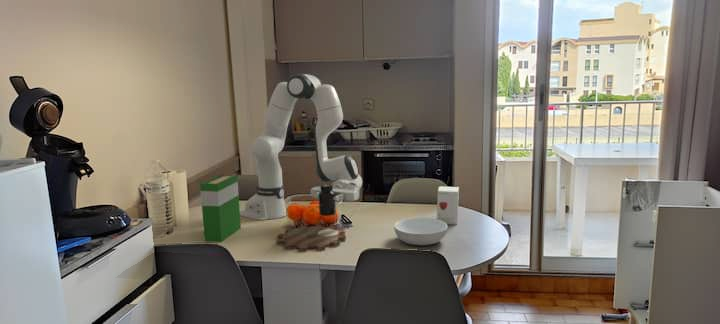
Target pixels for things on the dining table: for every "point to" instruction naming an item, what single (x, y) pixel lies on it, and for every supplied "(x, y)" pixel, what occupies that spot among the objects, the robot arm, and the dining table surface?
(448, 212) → the supplement box
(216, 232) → the green cereal box
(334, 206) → the supplement bottle
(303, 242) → the sprocket wheel
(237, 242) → the dining table surface
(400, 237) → the serving bowl
